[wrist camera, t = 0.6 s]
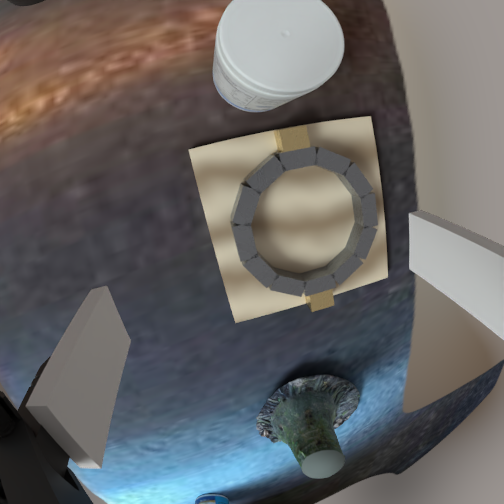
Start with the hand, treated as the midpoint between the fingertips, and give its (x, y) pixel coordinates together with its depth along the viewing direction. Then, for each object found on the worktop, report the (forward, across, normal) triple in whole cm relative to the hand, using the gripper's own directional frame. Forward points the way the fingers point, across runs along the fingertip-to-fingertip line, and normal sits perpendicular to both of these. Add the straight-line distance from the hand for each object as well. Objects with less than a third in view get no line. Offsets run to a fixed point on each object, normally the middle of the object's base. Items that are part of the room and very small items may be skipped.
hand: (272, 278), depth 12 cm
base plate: (+25, +8, -6) cm, 27 cm away
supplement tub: (+25, +6, +12) cm, 29 cm away
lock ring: (+23, +8, -5) cm, 25 cm away
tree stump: (+24, +5, -38) cm, 46 cm away
